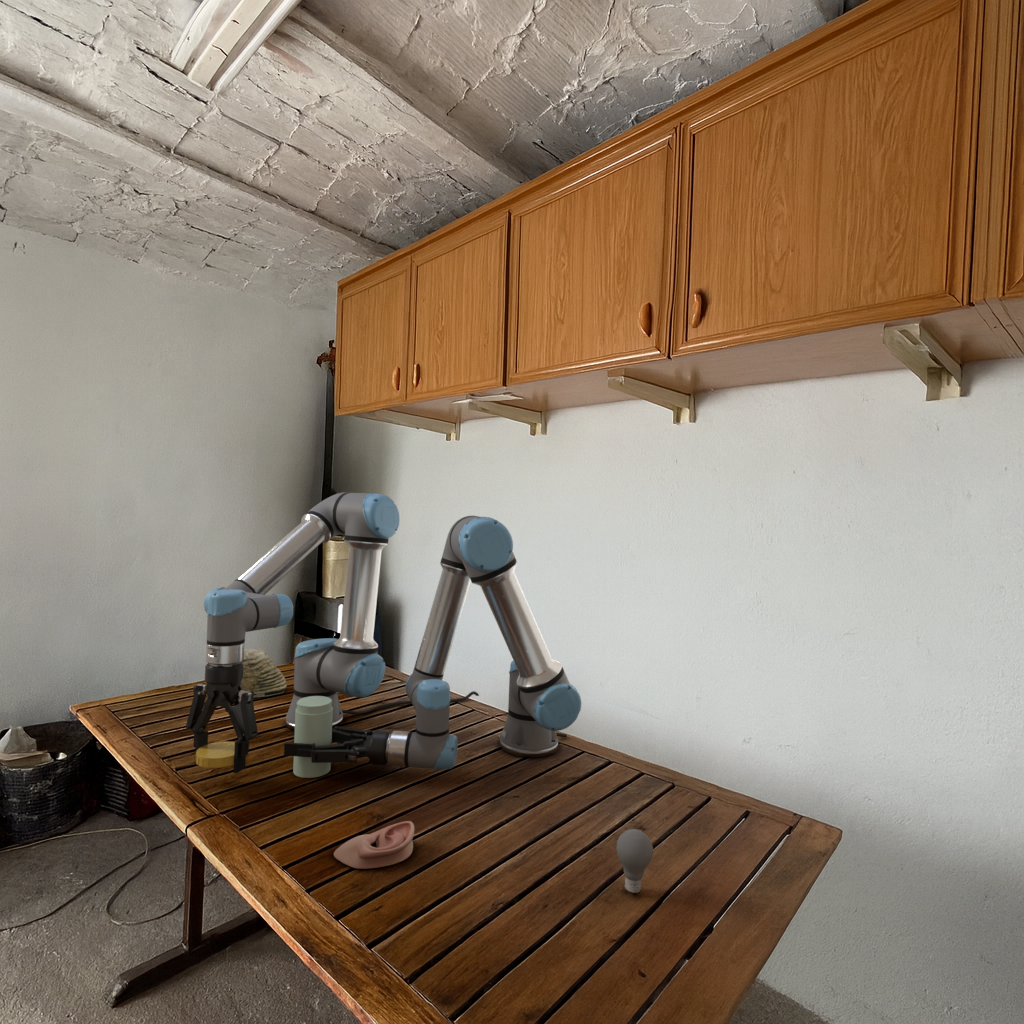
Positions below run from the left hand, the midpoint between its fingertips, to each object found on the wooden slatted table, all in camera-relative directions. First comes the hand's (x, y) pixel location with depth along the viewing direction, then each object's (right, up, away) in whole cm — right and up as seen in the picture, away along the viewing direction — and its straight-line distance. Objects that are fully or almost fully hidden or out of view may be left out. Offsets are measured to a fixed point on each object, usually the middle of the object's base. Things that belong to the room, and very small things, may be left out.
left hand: (219, 766), depth 136 cm
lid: (0, +3, 0) cm, 3 cm away
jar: (+17, -5, +10) cm, 20 cm away
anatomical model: (+38, -7, -22) cm, 45 cm away
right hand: (+12, +2, +11) cm, 16 cm away
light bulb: (+83, -9, -30) cm, 89 cm away
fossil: (-18, -3, +62) cm, 65 cm away
